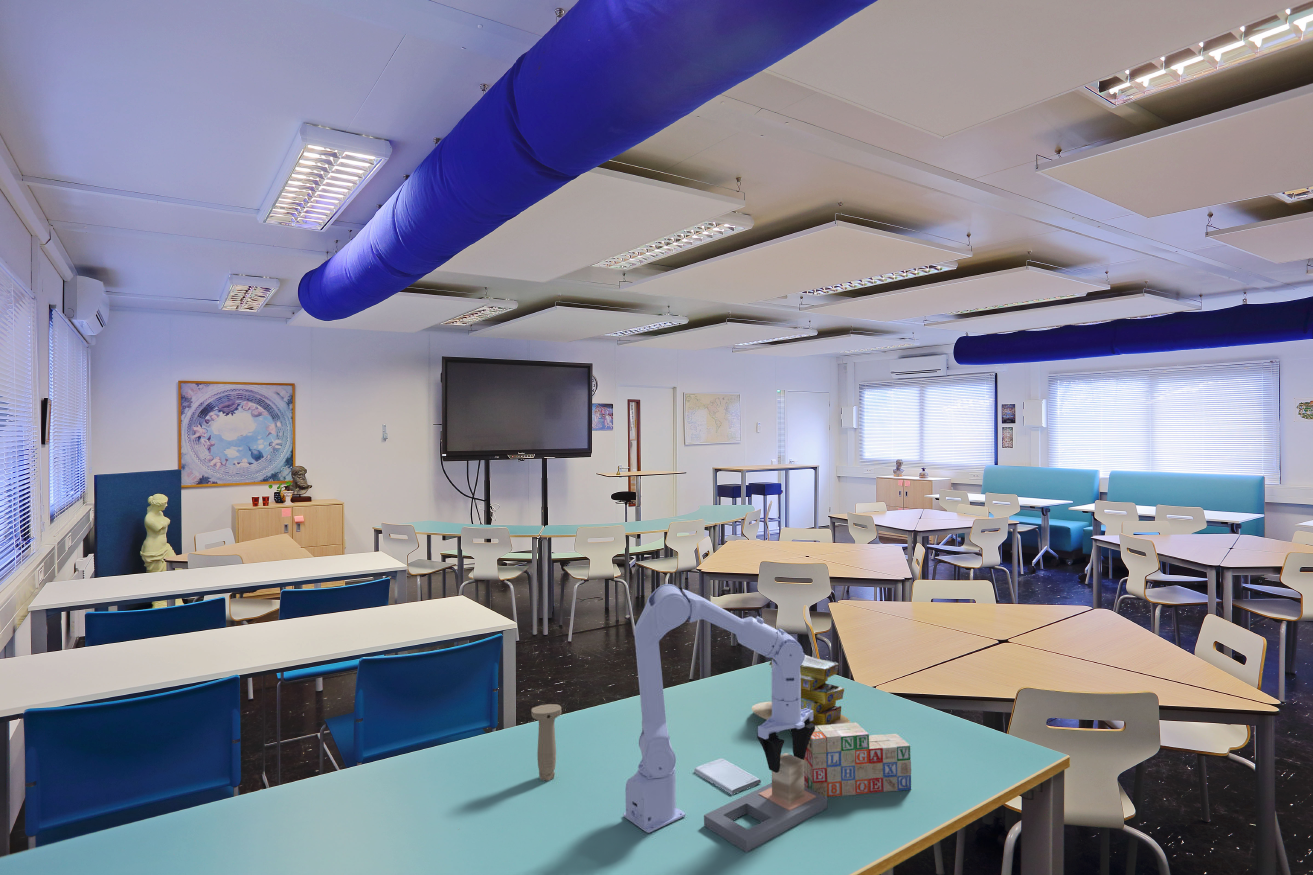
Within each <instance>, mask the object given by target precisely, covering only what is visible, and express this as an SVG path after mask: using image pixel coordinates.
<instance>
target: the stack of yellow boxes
mask: <svg viewBox="0 0 1313 875" xmlns="http://www.w3.org/2000/svg"><path fill="white" fill-rule="evenodd" d="M772 659H773V658H771V660H770V662H769V664H768V665H769V666H771V667H770V668H771V669H772ZM774 660H775V659H774ZM838 670H839V663H838V662H836V661H831V660H827V659H820V658H816V657H812V656H809V655H806V654H805V659H804V661H803V663H802V665H801V666H800V674H801V709H804V708H807V709H810V710H812V711H813V720H812V721H809V722H810V723H813V724H814V725H815V726H819V725H831V724H844V723H851V721H850V719H849V718H848V717H846V716H845V715H843V714H842V705H839V706H837V705H836V703H837V701H839V700H842V699H843V697H844V693H845V687H843V686H839V685H834V684H830V683H827V682H828V679H829V678H831V677H833V676H835V675H837V674H838ZM751 711H752V712H753V713H754V714H755V715H756V716H758V717H760V718H762V719H764V720H766V721H767V720H768V719H769V718H770V717H771V716H772V701H764V702H758V703H756V704H753V705H752V707H751Z"/></svg>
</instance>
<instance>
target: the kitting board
mask: <svg viewBox="0 0 1313 875" xmlns="http://www.w3.org/2000/svg"><path fill="white" fill-rule="evenodd" d="M826 809H828V796H826V797H825V796H823V795H821V794H819V793H817V792H815V791H813V790H810V789H808V788H806V786H804V796H803V797H801V798H799V799H797V800H795V801H794V802H792V803H788V802H786V801H784V800H782V799H780V798H778V797H776V796H774V795H772V782H771V783H769V784H767V785H764V786H762V787H760V788H758V789H755V790H753V791H752V792H750V793H747V794H746V795H743V796H741V797H739V798H736V799H734V800H732V801H730V802H729V803H727V804H726V803H725V804H724V805H722V806H720V807H718V808H715V809H714V810H712V811H710V812H708V813H705V814H704V815H703V826H704V827H706V828H707V829H708V830H710V831H712V832H714V833H715V834H717V835H719V836H720V837H721V838H723V839H725V840H726V841H727V842H729V843H731V844H733V845H734V846H736V847H737V848H739V849H741V850H742V851H743V852H746V853H748V852H750V851H752V850H753V849H755V848H757V847H759V846H761V845H762V844H764V843H766V842H768V841H769V840H771V839H774V838H775V837H777V836H779V835H780V834H782V833H784V832H786V831H788V830H789V829H791V828H793V827H795V826H797V825H799V824H800V823H802V822H804V821H806V820H808V819H809V818H811V817H813V816H815V815H816V814H819V813H821V812H822V811H824V810H826ZM744 814H745V815H748V814H749V816H750V815H751V816H750V817H752V818H754V819H755V818H756V819H755V820H757V819H758V821H759V820H760V821H759V822H760V823H758V824H756V825H755V826H752V827H750V828H749V829H748V828H746V827H744V826H742V825H740V823H737V822H735V820H736V818H737V819H739V818H740V816H741V817H742V815H743V816H745V815H744ZM738 817H739V818H738ZM734 819H735V820H734Z"/></svg>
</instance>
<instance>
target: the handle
mask: <svg viewBox="0 0 1313 875" xmlns="http://www.w3.org/2000/svg"><path fill="white" fill-rule="evenodd" d="M530 711H531V717H532V718H533V719H534V720H536V721H538V733H537V734H538V735H537V736H538V738H537V740H538V741H537V767H538V775H539V776H538V777H539V778H540V780H541V781H546V782H550V781H551V780H552V779H554V778H555V775H556V772H555V770H556V762H557V746H556V745H557V743H556V728H555V720H556V719H557V718H559V717H560V716H561V714H562V706H561V705H560V704H557V703H556V704H555V703H554V704H552V703H550V704H549V703H548V704H540V705H538V706H537V705H536V706H535V707H534V706H533V707H532V708H531V710H530Z"/></svg>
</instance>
